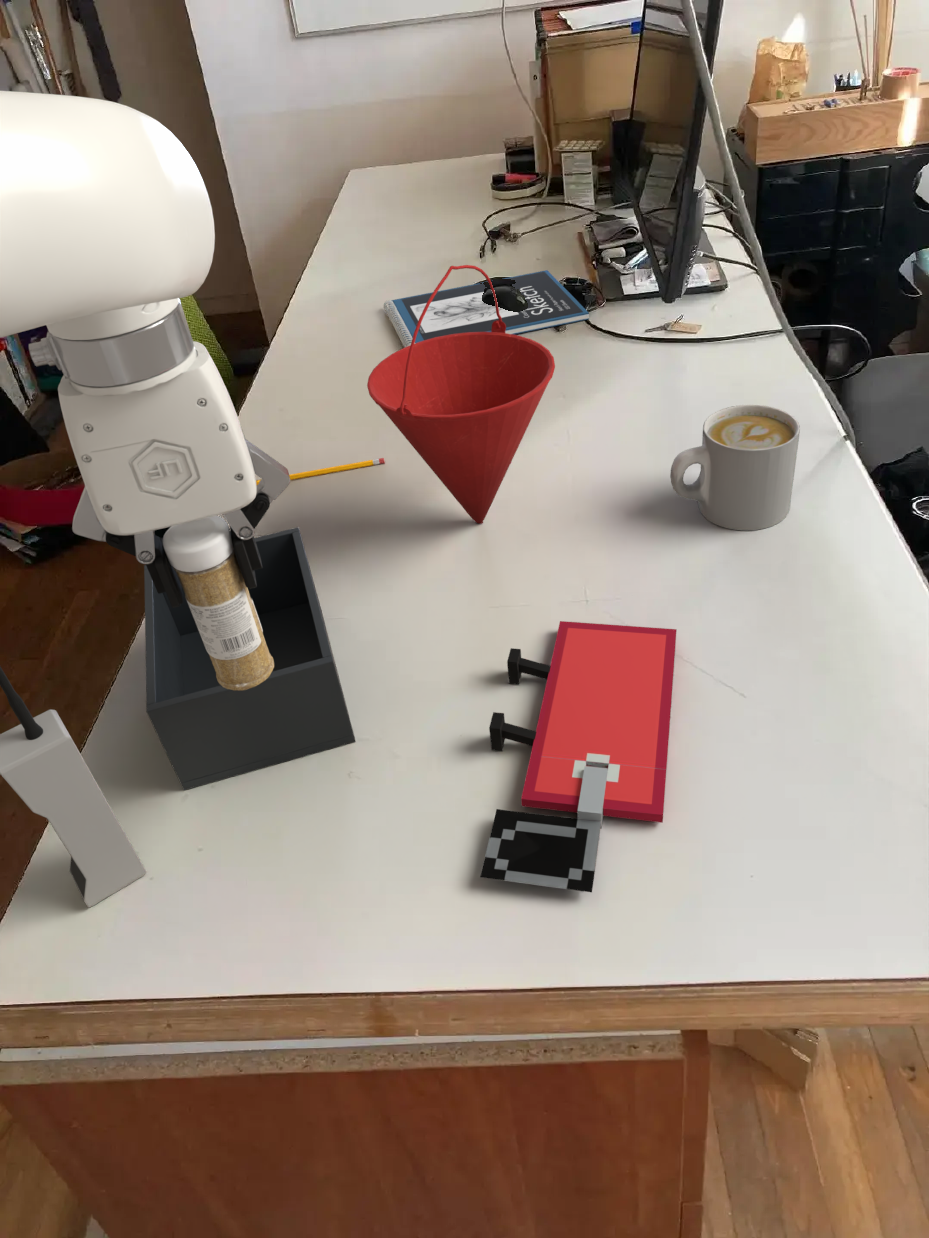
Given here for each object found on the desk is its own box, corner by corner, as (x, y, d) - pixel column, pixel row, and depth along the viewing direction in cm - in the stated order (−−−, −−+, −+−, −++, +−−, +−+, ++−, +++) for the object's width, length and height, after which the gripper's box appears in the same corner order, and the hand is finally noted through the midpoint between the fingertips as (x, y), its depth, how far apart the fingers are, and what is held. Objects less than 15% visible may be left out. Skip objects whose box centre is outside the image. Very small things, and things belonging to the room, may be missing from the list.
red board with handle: (457, 881, 71) (656, 908, 68) (453, 859, 69) (657, 885, 66) (523, 629, 93) (675, 640, 90) (521, 607, 92) (677, 618, 88)
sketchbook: (589, 320, 149) (589, 308, 148) (408, 359, 146) (406, 347, 144) (547, 276, 166) (547, 265, 164) (383, 310, 162) (381, 298, 161)
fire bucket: (450, 463, 120) (416, 223, 100) (592, 489, 111) (584, 232, 92) (359, 558, 106) (300, 300, 87) (514, 595, 98) (485, 319, 78)
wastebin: (355, 741, 84) (333, 661, 78) (183, 790, 82) (146, 711, 75) (319, 602, 100) (298, 526, 94) (175, 640, 98) (143, 565, 92)
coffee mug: (781, 479, 108) (790, 401, 102) (797, 528, 101) (808, 447, 94) (664, 485, 110) (666, 409, 104) (672, 534, 103) (674, 455, 96)
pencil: (384, 464, 122) (384, 460, 121) (239, 490, 121) (237, 486, 120) (384, 461, 122) (383, 457, 122) (239, 487, 121) (238, 483, 121)
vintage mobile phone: (74, 879, 76) (-73, 654, 60) (132, 846, 78) (4, 619, 62) (89, 910, 73) (-60, 683, 57) (148, 874, 75) (19, 646, 59)
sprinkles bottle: (273, 647, 74) (227, 506, 65) (276, 685, 70) (227, 541, 62) (216, 660, 73) (161, 519, 65) (216, 699, 70) (158, 556, 61)
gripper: (-31, 403, 51) (92, 649, 62) (274, 337, 53) (338, 587, 65) (-14, 351, 56) (96, 585, 68) (262, 293, 59) (322, 530, 70)
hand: (213, 584), depth 66 cm, fingers closed on sprinkles bottle, 4 cm apart
